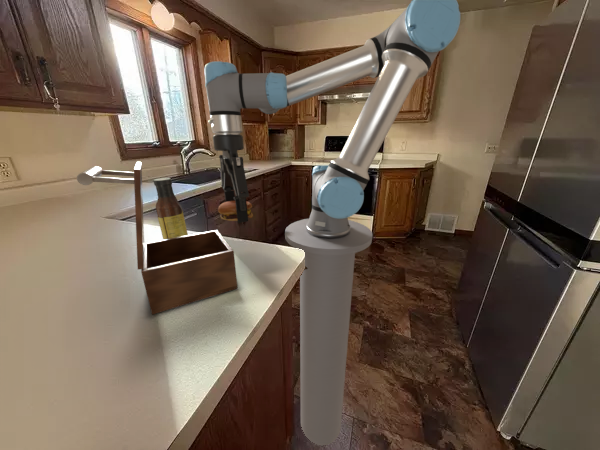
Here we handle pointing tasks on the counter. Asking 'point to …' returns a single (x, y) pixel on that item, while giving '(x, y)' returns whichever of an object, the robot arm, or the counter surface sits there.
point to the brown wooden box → (187, 269)
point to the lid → (94, 176)
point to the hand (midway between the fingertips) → (236, 216)
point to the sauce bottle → (169, 210)
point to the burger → (232, 210)
